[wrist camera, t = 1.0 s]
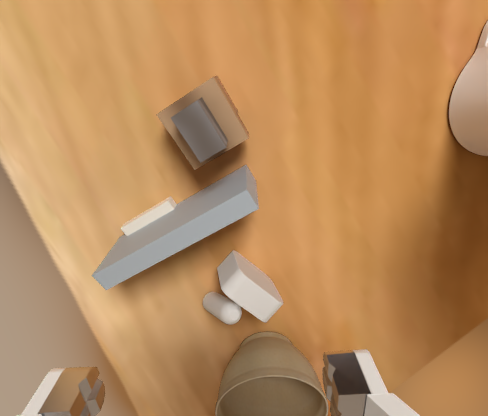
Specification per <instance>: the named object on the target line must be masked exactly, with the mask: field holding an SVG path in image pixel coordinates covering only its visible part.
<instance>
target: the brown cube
mask: <svg viewBox="0 0 488 416" xmlns="http://www.w3.org/2000/svg"><path fill="white" fill-rule="evenodd" d="M237 112H238V111H237V109H236V107H235V105H234V104H233V102H232V100H231V98H230V97H229V95H228V93H227V92H226V90H225V88H224V86H223V85H222V83H221V81H220V79H219V78H218V76H215V77H212V78H211V79H209V80H208V81H206V82H205V83H203V84H202V85H200V86H199V87H197V88H196V89H194V90H193V91H191V92H190V93H188V94H187V95H185V96H184V97H182V98H180V99H179V100H177V101H176V102H174V103H173V104H171V105H170V106H168V107H167V108H165V109H164V110H162V111H161V112H159V113H158V114H156V115H157V116H158V118H159V119H160V121H161V122H162V123H163V125H164V126H165V128H166V129H167V131H168V132H169V134H170V135H171V137H172V138H173V139H174V141H175V142H176V144H177V145H178V147H179V148H180V150H181V151H182V153H183V154H184V155H185V157H186V158H187V160H188V161H189V163H190V164H191V166H192V167H193V169H194V170H196V169H198V168H200V167H201V166H203V165H205V164H206V163H208V162H210V161H211V160H213V159H215V158H216V157H218V156H220V155H221V154H223V153H225V152H226V151H228V150H230V149H232V148H233V147H235V146H237V145H238V144H240V143H242V142H243V141H245V140H247V139H248V138H249V133H248V131H247V129H246V128H245V126H244V124H243V123H242V121H241V119H240V117H239V116H238V114H237Z"/></svg>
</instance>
